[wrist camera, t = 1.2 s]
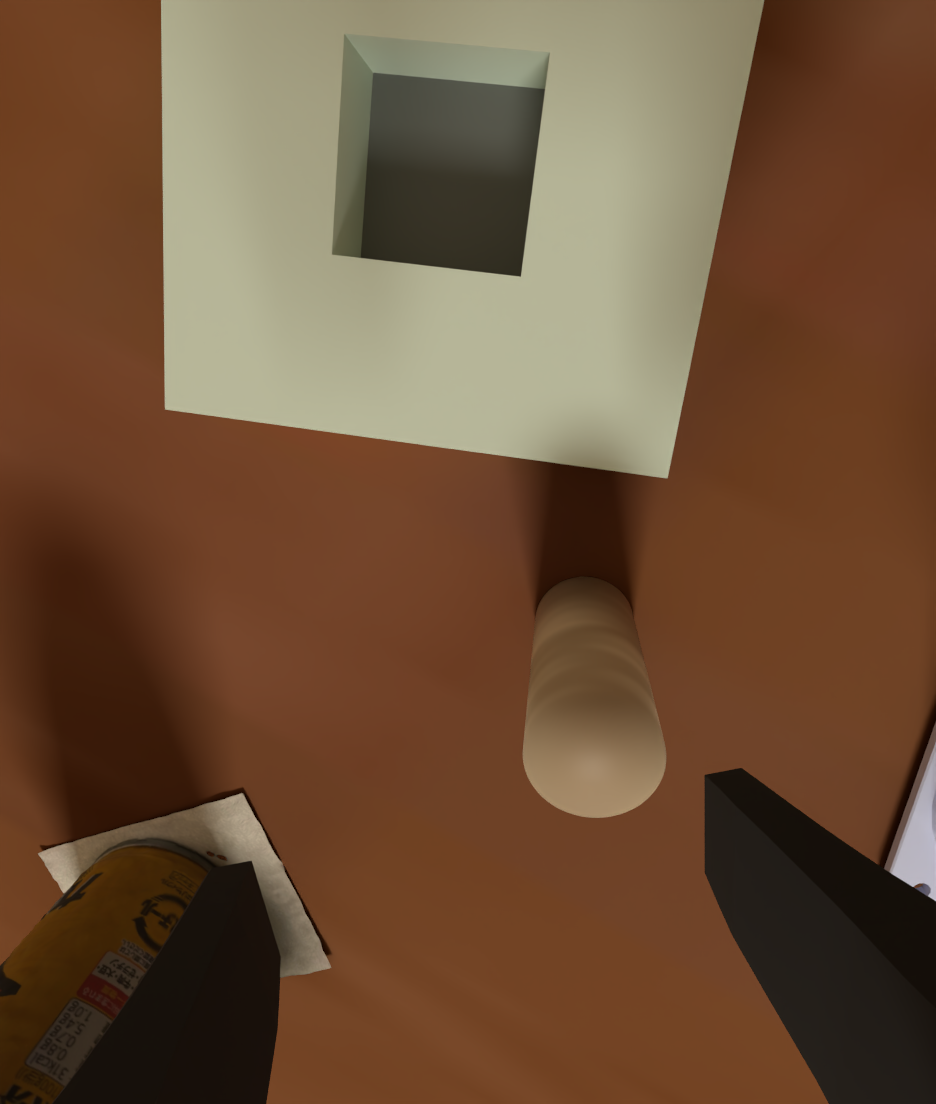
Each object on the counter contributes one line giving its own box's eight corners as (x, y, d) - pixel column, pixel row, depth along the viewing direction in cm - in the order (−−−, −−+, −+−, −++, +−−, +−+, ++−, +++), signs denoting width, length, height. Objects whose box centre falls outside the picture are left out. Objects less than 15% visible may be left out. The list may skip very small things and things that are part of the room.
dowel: (641, 584, 21) (679, 706, 14) (623, 674, 22) (651, 828, 15) (542, 569, 21) (533, 682, 14) (528, 658, 22) (513, 804, 15)
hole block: (757, -90, 16) (800, -180, 13) (652, 456, 20) (667, 478, 17) (227, -129, 17) (158, -222, 14) (220, 398, 21) (164, 409, 18)
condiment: (41, 849, 26) (-358, 1249, 15) (245, 789, 24) (-33, 1194, 13) (137, 1004, 28) (-155, 1471, 17) (334, 960, 26) (158, 1450, 15)
